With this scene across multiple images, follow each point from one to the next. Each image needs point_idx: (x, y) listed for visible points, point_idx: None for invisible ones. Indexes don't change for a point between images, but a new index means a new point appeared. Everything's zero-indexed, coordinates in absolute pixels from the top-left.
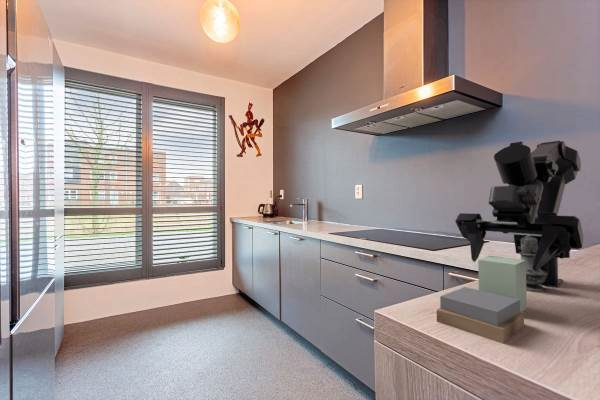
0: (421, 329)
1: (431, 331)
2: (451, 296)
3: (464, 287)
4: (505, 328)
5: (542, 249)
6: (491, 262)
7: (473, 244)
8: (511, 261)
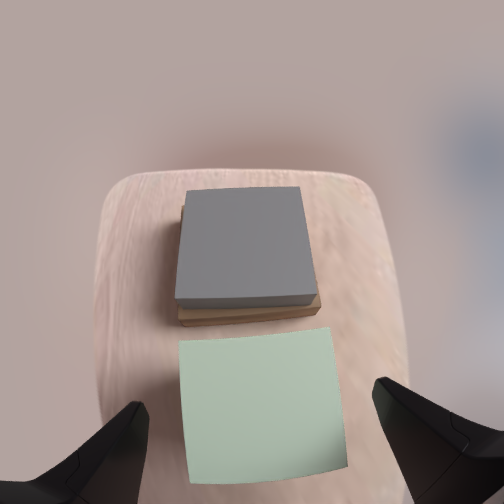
0: (285, 173)
1: (273, 178)
2: (286, 201)
3: (315, 287)
4: (181, 215)
5: (85, 453)
6: (273, 334)
7: (430, 413)
8: (217, 407)
